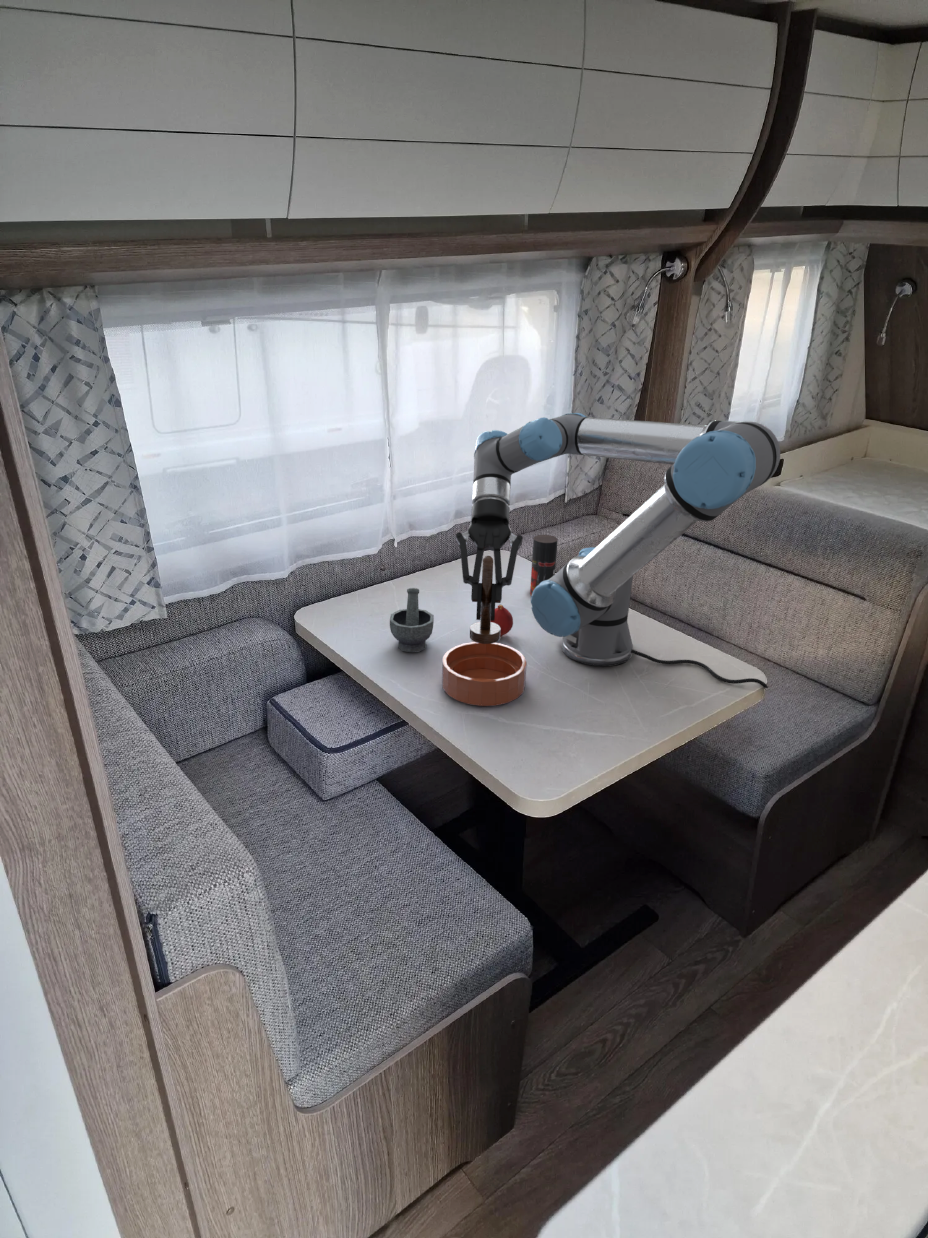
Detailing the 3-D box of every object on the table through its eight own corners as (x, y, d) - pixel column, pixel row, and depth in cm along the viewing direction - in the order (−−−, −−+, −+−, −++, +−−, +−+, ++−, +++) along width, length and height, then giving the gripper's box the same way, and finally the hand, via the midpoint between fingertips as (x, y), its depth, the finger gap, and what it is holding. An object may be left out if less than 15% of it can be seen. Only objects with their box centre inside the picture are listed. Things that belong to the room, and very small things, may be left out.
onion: (491, 629, 188) (492, 597, 185) (515, 633, 187) (517, 601, 183) (483, 639, 183) (484, 607, 180) (508, 644, 182) (509, 611, 178)
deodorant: (553, 599, 204) (558, 543, 198) (529, 598, 204) (533, 542, 198) (553, 590, 209) (557, 535, 203) (529, 589, 210) (533, 534, 203)
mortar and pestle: (432, 656, 176) (432, 606, 170) (388, 655, 175) (387, 605, 170) (434, 633, 186) (434, 585, 181) (393, 632, 186) (392, 584, 180)
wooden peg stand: (502, 632, 162) (506, 552, 155) (497, 645, 157) (501, 563, 149) (473, 628, 163) (475, 548, 156) (466, 641, 158) (469, 560, 150)
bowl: (530, 672, 170) (532, 647, 168) (517, 713, 156) (518, 686, 153) (453, 662, 174) (453, 637, 171) (433, 702, 159) (433, 675, 156)
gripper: (527, 515, 165) (524, 626, 157) (453, 512, 165) (446, 622, 157) (529, 498, 158) (526, 612, 150) (452, 495, 158) (444, 609, 150)
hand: (485, 617), depth 154 cm, fingers closed on wooden peg stand, 2 cm apart
